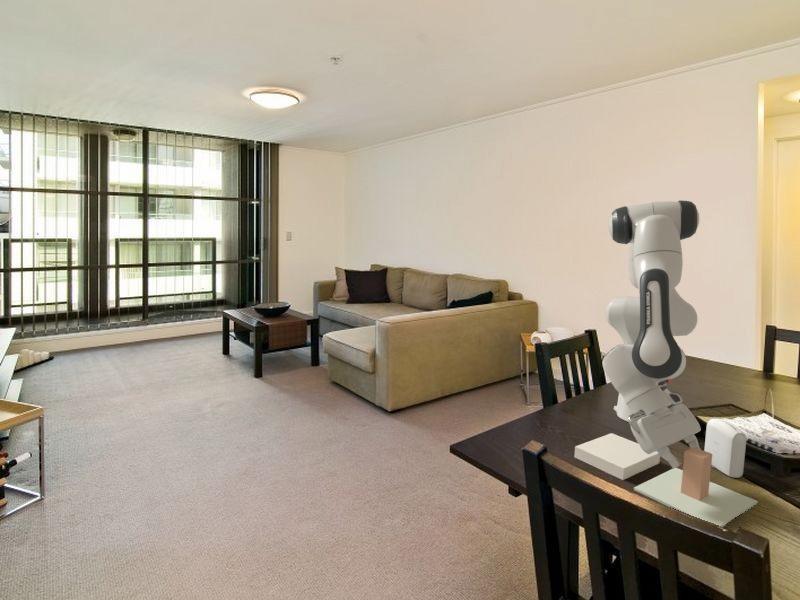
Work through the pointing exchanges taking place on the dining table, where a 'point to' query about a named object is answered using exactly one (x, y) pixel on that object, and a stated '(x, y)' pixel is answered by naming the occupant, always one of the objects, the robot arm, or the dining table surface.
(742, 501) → the mat
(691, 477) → the block
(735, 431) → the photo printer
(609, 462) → the block
